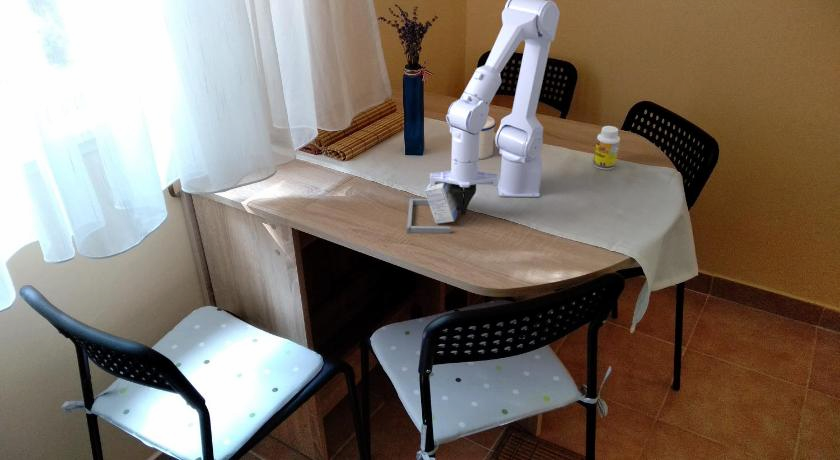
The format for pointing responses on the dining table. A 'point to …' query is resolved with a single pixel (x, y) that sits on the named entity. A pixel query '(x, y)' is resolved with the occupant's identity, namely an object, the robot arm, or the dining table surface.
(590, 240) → the dining table surface
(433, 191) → the medicine box
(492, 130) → the teacup with lid
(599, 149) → the supplement bottle
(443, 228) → the grey bay
